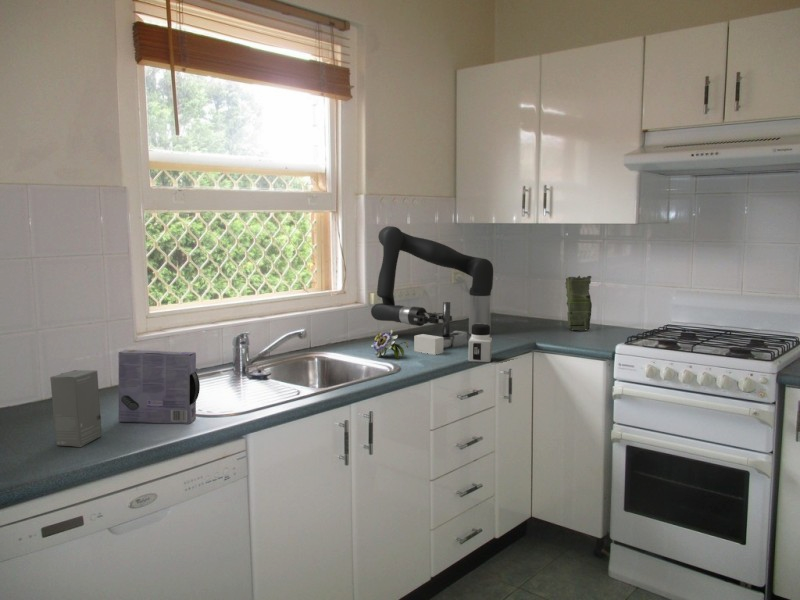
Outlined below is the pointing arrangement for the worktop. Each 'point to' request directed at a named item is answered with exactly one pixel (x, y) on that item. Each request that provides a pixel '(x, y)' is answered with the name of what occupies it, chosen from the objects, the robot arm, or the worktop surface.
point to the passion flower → (387, 344)
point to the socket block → (428, 344)
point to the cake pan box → (157, 386)
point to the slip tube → (446, 325)
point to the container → (480, 343)
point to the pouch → (578, 302)
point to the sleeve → (459, 338)
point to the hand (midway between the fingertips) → (444, 319)
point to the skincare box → (76, 407)
